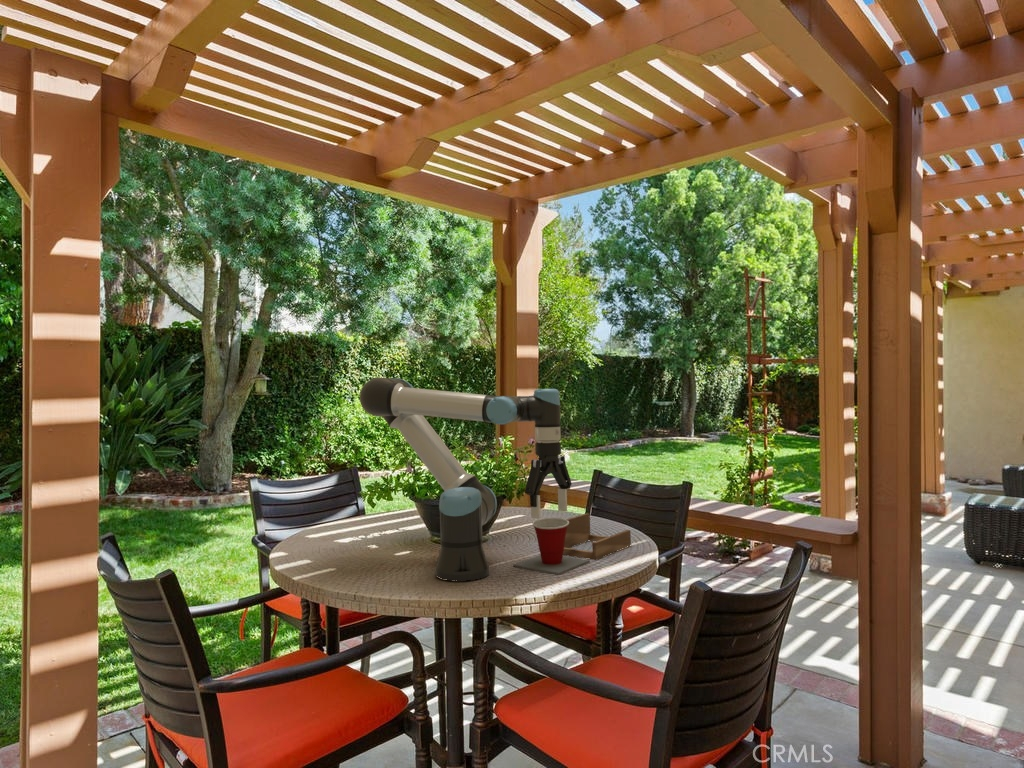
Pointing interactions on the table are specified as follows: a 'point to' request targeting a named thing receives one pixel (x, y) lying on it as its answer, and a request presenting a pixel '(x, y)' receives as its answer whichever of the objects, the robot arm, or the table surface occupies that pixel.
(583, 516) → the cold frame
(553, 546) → the plastic cup
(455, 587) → the table surface
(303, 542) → the table surface
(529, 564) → the mat
